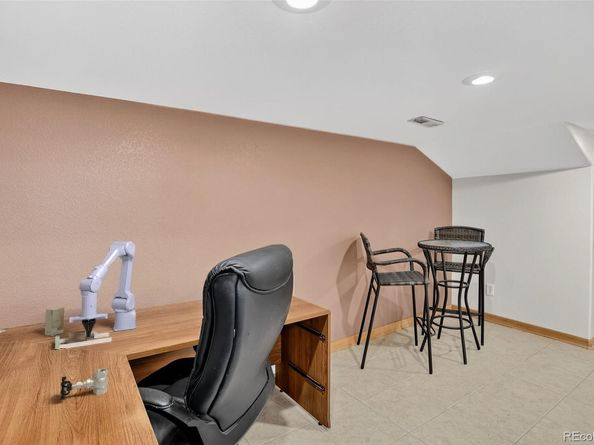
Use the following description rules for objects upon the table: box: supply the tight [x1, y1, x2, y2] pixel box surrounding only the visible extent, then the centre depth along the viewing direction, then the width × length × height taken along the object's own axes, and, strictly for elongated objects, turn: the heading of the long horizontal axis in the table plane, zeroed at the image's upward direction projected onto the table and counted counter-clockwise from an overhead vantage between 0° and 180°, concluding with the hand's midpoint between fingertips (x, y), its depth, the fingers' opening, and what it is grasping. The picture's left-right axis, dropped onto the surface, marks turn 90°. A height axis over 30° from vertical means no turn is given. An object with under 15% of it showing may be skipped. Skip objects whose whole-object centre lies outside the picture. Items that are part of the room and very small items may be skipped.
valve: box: [59, 368, 109, 401], centre depth 102 cm, size 7×7×12 cm
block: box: [67, 330, 86, 344], centre depth 147 cm, size 6×5×4 cm
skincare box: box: [44, 306, 65, 337], centre depth 160 cm, size 6×4×12 cm
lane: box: [54, 331, 113, 350], centre depth 151 cm, size 20×15×3 cm
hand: (88, 336), depth 150 cm, fingers closed
